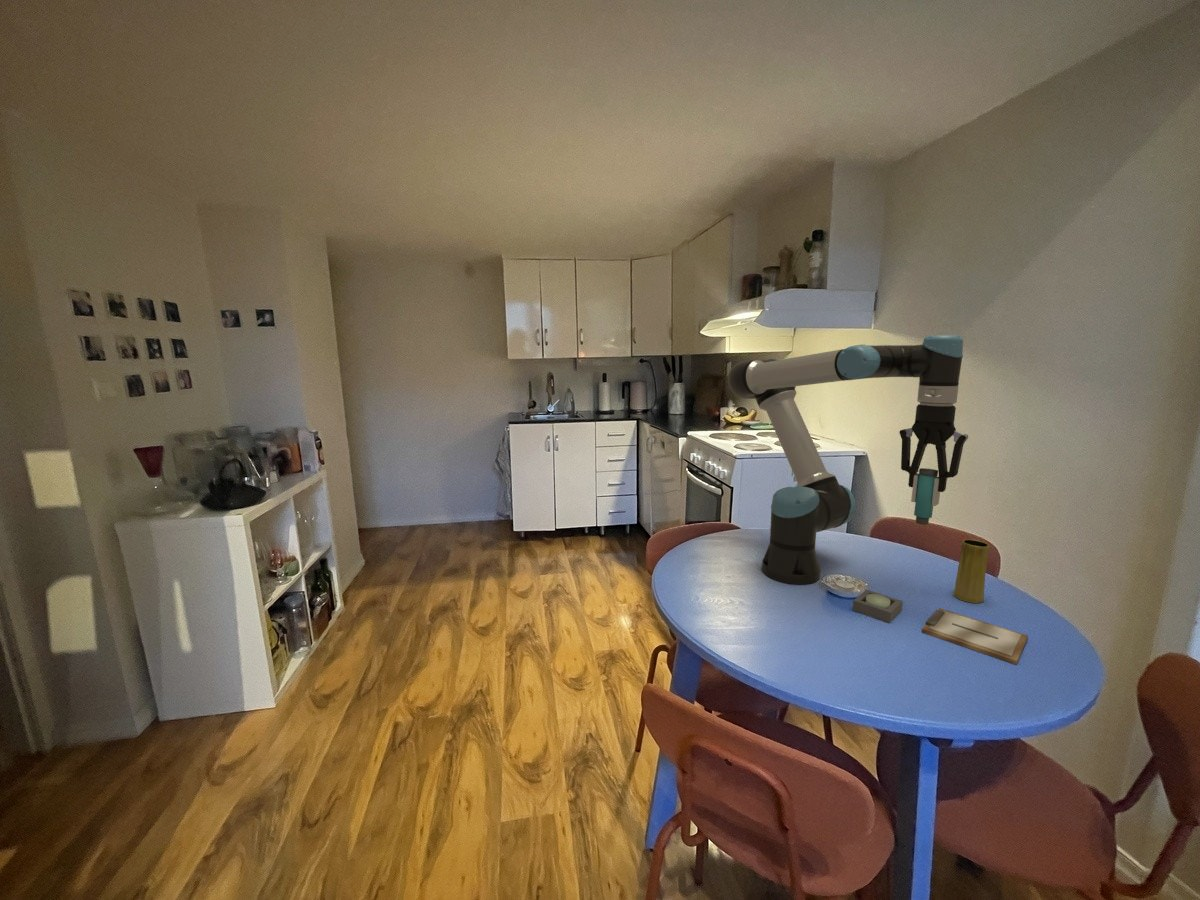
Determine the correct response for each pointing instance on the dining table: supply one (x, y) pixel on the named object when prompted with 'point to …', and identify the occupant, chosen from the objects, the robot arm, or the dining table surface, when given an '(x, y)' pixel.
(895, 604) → the button frame
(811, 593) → the dining table surface
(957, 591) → the vase
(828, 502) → the robot arm
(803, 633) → the dining table surface
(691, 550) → the dining table surface
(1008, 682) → the dining table surface
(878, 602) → the button
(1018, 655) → the drawing board
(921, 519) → the marker
